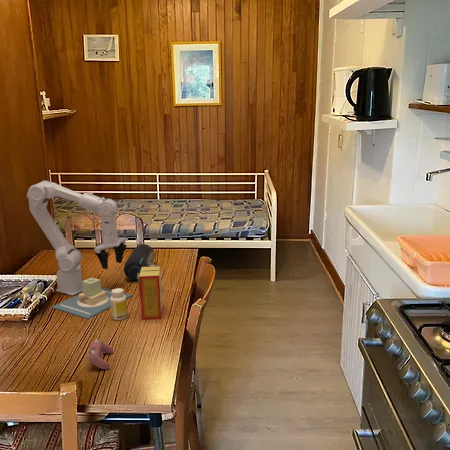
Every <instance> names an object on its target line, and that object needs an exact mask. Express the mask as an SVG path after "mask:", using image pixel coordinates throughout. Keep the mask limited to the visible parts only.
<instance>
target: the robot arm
mask: <svg viewBox="0 0 450 450" xmlns="http://www.w3.org/2000/svg"><path fill="white" fill-rule="evenodd" d="M27 190H28V191H27V194H26V197H27V199H28V207H29V211H30V213H31V215H32V216H33V218H34V219H35V221H36V223H37V224H38V226H39V227H40V229H41V230H42V232H43V234H45V237H46V238H47V239H48V241H49V243H50V244H51V245H52V247H53V249H54V250H55V259H56V260H57V265H58V267H59V269H58V270H57V272H56V283H57V288H56V289H55V290H56V292H59V293H62V294H67V295H69V296H74V295H75V296H76V295H78V294H80V293H83V286H82V281H83V277H82V276H83V275H82V266H81V261H82V260H83V255H82V253H81V252H80V251H79V250H78V249H77V248H75V246H74V245H73V244H71V243H70V242H68V241H67V239H66V237H65V235H64V234H63V232H62V231H61V230H60V228H59V226H58V225H57V223H56V222H55V220H54V218H53V217H52V215H51V214H50V212H49V210H48V209H47V205H48V203H49V200H50V199H53V198H57V197H58V198H61V199H66V200H68V201H72V202H75V203H78V204H79V206H80V207H81V208H83V209H86V210H88V211H91V212H94V213H97V214H98V215H99V216H100V225H101V226H100V227H101V239H102V242H101V243H100V244H99V245H97V246H95V247H94V254H95V256H96V257H97V259H98V260H99V262H100V265H101V268H102V270H103V269H104V270H108V267H109V255H110V252H107V250H109V249H112V248H113V251H114V253H115V262H116V263H118V264H122V262H123V257H124V253H125V251H126V249H127V244H126V243H127V240H126V238H125V237H120V238H119V236H118V223H117V222H118V221H117V213H116V211H117V210H118V205H117V202H116V201H115V200H113V199H111V198H105V196H102V197H100V196H97V195H95V194H94V193H93V192H91V191H90V192H84V193H83V194H82V193H79V192H77V191H75V190H71V189H70V188H67V187H65V186H62V185H60V184H58V183H56V182H51V181H50V180H42V181H41V182H38V183H35V184H32V185H31V186H29V188H28V189H27Z"/></svg>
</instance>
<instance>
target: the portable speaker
mask: <svg viewBox="0 0 450 450" xmlns="http://www.w3.org/2000/svg"><path fill="white" fill-rule="evenodd" d="M155 256H156V254H155V250H154V249H153V248H152V246H150V245H148V244H146V243H142V244H138V245H137V246H135V247H134V249H133V250H132V251H131V253H130V255H129V257H128V258H127V259H126V261H125V262H124V266H123V272H124V275H125V277H126V278H127V279H129V281H138V279H137V273H140V272H141V267H147V266H148V263H153V262H154V260H155Z"/></svg>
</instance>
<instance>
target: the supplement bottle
mask: <svg viewBox="0 0 450 450" xmlns="http://www.w3.org/2000/svg"><path fill="white" fill-rule="evenodd" d="M111 290H112V296H111V298H110V306H111V308H110V317H111V319H112V320H114V321H115V320H116V321H121V320H124V319H126V318H127V317H128V306H127V303H128V302H127V299H126V296H125V295H123V294H124V289H123V288H119V287H118V288H114V289H111Z"/></svg>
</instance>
